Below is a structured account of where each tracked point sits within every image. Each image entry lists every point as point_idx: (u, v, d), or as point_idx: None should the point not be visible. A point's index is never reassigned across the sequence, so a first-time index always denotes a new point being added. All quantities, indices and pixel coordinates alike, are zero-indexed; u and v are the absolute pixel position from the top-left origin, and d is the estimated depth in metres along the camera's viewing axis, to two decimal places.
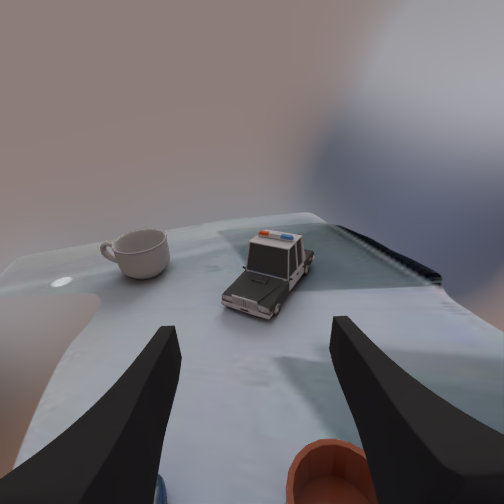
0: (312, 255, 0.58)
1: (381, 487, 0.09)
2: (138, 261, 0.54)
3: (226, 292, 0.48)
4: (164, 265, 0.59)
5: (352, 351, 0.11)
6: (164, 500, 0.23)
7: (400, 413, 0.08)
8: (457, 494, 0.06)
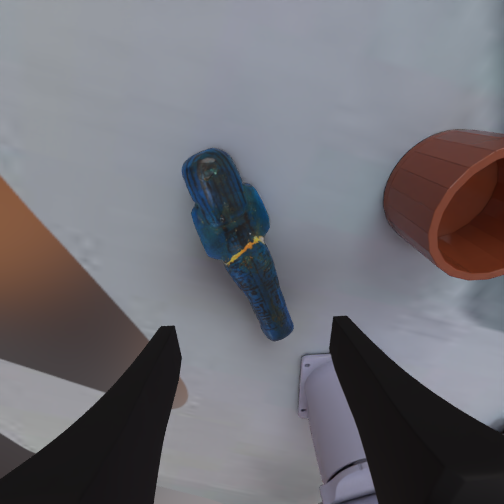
0: None
1: (381, 487, 0.09)
2: None
3: None
4: None
5: (352, 351, 0.11)
6: (241, 187, 0.17)
7: (400, 413, 0.08)
8: (457, 493, 0.06)
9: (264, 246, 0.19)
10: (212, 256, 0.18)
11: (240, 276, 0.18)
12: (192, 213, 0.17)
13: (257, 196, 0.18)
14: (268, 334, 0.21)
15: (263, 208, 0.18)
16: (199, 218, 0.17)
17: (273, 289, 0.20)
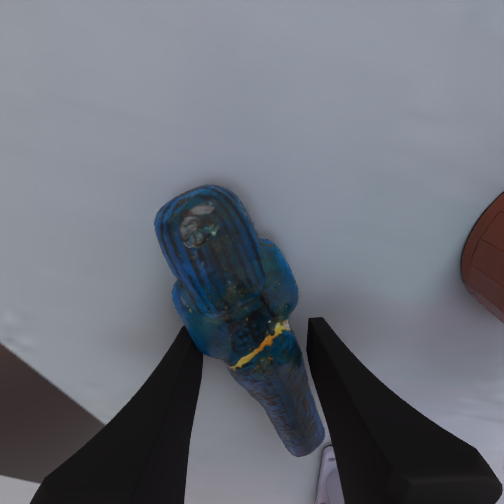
0: None
1: (347, 489, 0.09)
2: None
3: None
4: None
5: (323, 353, 0.11)
6: (259, 253, 0.10)
7: (359, 416, 0.08)
8: (405, 497, 0.06)
9: (290, 335, 0.12)
10: (207, 354, 0.11)
11: (252, 385, 0.11)
12: (173, 293, 0.10)
13: (282, 260, 0.11)
14: (289, 450, 0.14)
15: (290, 277, 0.11)
16: (185, 304, 0.10)
17: (300, 394, 0.13)
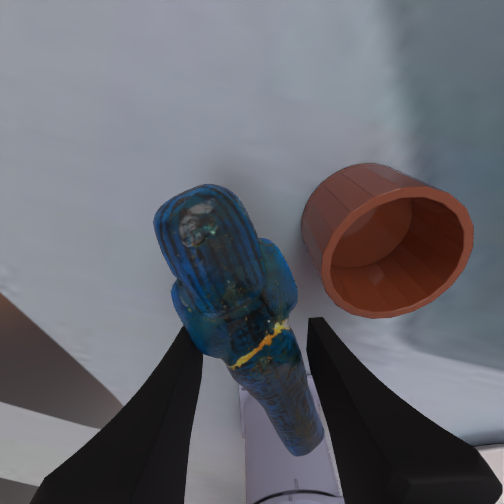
0: None
1: (347, 489, 0.09)
2: None
3: None
4: None
5: (323, 353, 0.11)
6: (258, 252, 0.10)
7: (360, 416, 0.08)
8: (405, 497, 0.06)
9: (289, 335, 0.12)
10: (206, 354, 0.11)
11: (252, 385, 0.11)
12: (172, 293, 0.10)
13: (281, 260, 0.11)
14: (289, 450, 0.14)
15: (290, 277, 0.11)
16: (184, 303, 0.10)
17: (300, 393, 0.13)
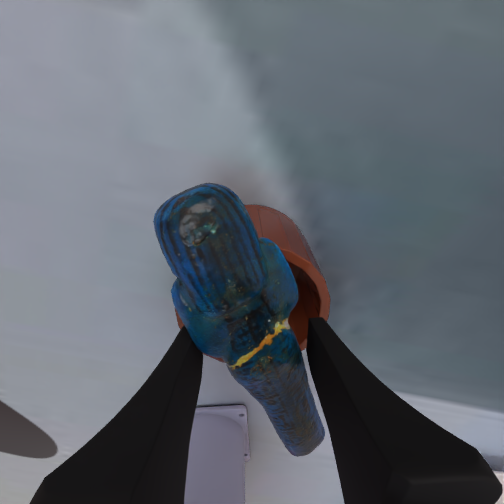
0: None
1: (347, 489, 0.09)
2: None
3: None
4: None
5: (323, 353, 0.11)
6: (258, 251, 0.10)
7: (359, 416, 0.08)
8: (405, 497, 0.06)
9: (290, 334, 0.12)
10: (206, 353, 0.11)
11: (252, 385, 0.11)
12: (172, 292, 0.10)
13: (282, 259, 0.11)
14: (289, 450, 0.14)
15: (290, 276, 0.11)
16: (184, 303, 0.10)
17: (300, 393, 0.13)
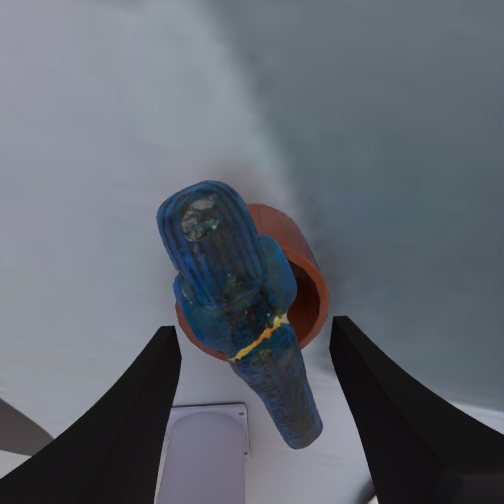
0: None
1: (381, 487, 0.09)
2: None
3: None
4: None
5: (352, 351, 0.11)
6: (258, 247, 0.10)
7: (400, 413, 0.08)
8: (457, 493, 0.06)
9: (288, 329, 0.12)
10: (207, 347, 0.11)
11: (251, 377, 0.12)
12: (174, 286, 0.10)
13: (281, 255, 0.11)
14: (288, 442, 0.15)
15: (289, 272, 0.11)
16: (185, 297, 0.10)
17: (299, 387, 0.13)
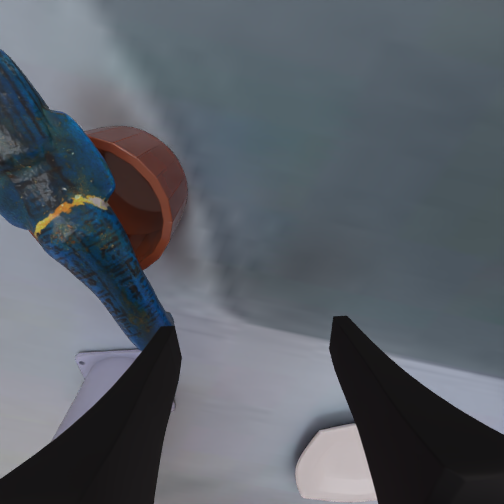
0: None
1: (381, 487, 0.09)
2: None
3: None
4: None
5: (352, 351, 0.11)
6: (32, 110, 0.10)
7: (400, 413, 0.08)
8: (457, 494, 0.06)
9: (98, 211, 0.12)
10: (13, 224, 0.12)
11: (60, 256, 0.12)
12: None
13: (76, 132, 0.12)
14: None
15: (92, 152, 0.12)
16: None
17: (125, 278, 0.14)
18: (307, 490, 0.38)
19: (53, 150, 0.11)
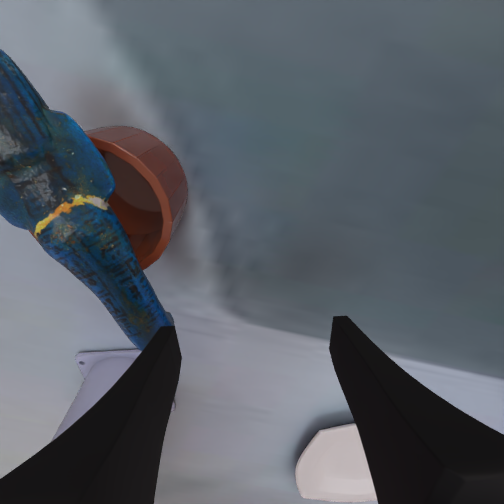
0: None
1: (381, 487, 0.09)
2: None
3: None
4: None
5: (352, 351, 0.11)
6: (32, 110, 0.10)
7: (400, 413, 0.08)
8: (457, 494, 0.06)
9: (98, 211, 0.12)
10: (13, 224, 0.12)
11: (60, 256, 0.12)
12: None
13: (76, 132, 0.12)
14: None
15: (92, 152, 0.12)
16: None
17: (125, 278, 0.14)
18: (307, 490, 0.38)
19: (53, 150, 0.11)
